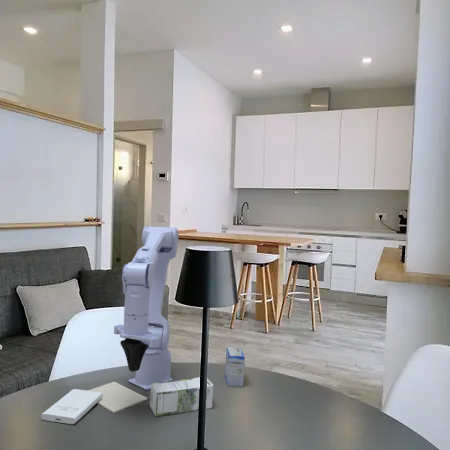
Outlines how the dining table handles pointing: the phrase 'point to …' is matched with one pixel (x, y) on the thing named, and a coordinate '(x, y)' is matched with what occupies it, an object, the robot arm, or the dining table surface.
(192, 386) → the syrup box
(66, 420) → the external hard drive
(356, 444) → the dining table surface
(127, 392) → the mat
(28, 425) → the dining table surface
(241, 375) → the medicine box
